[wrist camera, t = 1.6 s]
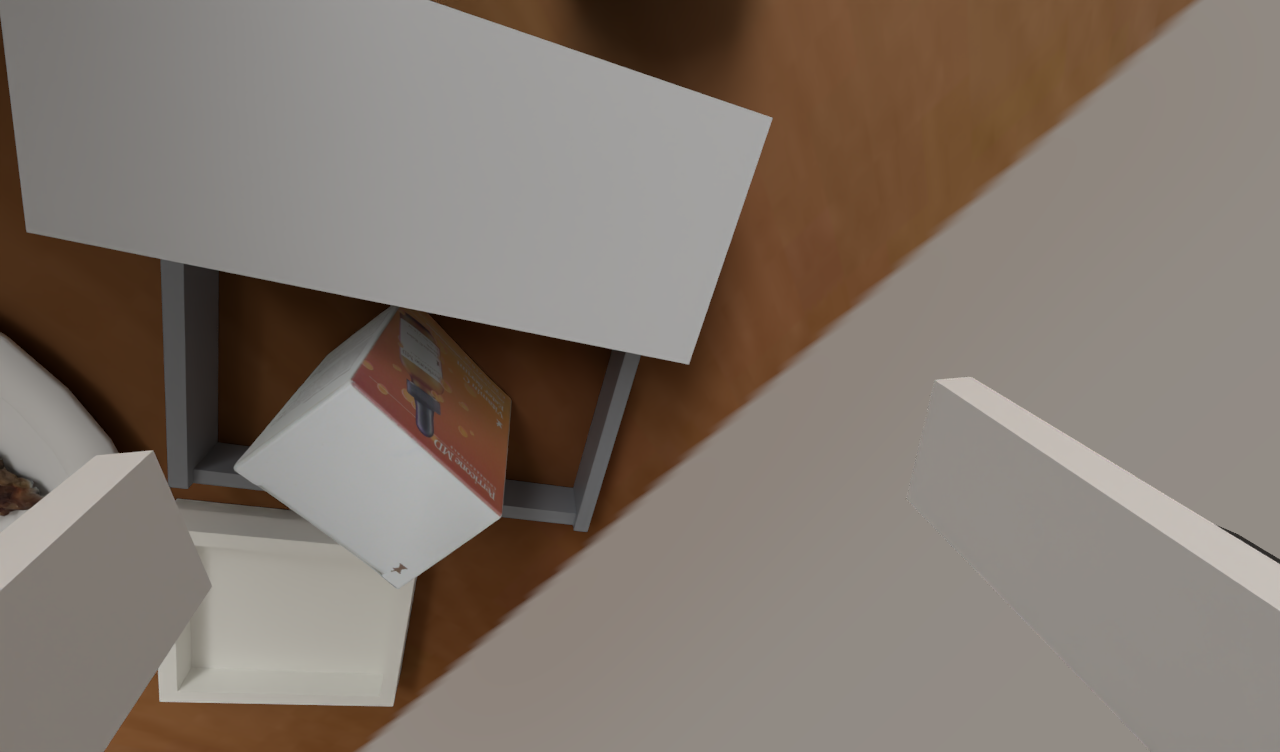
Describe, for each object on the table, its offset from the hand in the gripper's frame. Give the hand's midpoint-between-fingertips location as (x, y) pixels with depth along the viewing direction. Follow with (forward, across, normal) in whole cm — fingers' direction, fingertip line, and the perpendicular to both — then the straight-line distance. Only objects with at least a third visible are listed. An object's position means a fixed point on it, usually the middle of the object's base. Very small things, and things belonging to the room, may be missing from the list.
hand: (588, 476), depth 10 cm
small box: (+21, -7, -7) cm, 23 cm away
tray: (+21, -16, -21) cm, 34 cm away
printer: (+21, -6, -2) cm, 22 cm away
